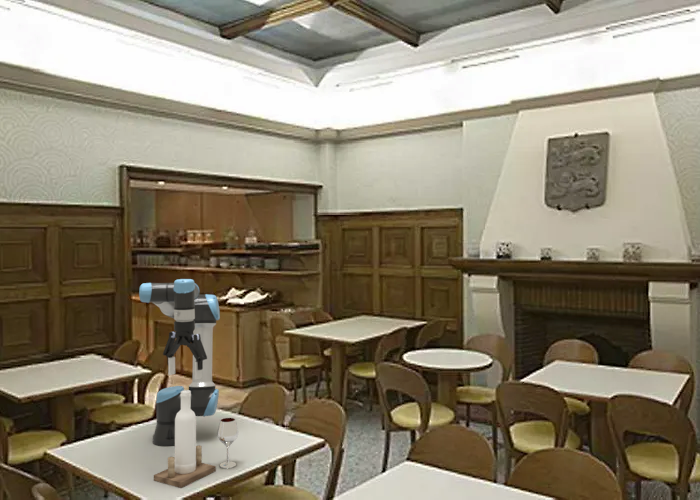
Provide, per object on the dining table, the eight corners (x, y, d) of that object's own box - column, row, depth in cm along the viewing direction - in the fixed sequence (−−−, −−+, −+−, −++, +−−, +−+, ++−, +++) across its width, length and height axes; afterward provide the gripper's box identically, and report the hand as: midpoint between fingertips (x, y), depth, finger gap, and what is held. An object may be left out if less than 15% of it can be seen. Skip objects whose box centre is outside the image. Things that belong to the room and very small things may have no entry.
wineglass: (218, 461, 239) (218, 417, 238) (239, 461, 239) (239, 416, 239) (216, 469, 230) (215, 423, 230) (237, 468, 231) (237, 422, 231)
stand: (153, 480, 220) (153, 456, 220) (189, 464, 236) (188, 441, 236) (181, 488, 213) (181, 463, 213) (215, 471, 229) (215, 447, 229)
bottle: (199, 471, 223) (199, 391, 223) (178, 475, 219) (178, 394, 219) (191, 464, 230) (192, 387, 230) (171, 469, 226) (172, 390, 225)
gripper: (153, 319, 227) (153, 374, 227) (202, 323, 214) (202, 382, 215) (168, 317, 233) (168, 370, 234) (216, 321, 221) (216, 378, 221)
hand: (184, 376), depth 224 cm, fingers open, 13 cm apart
